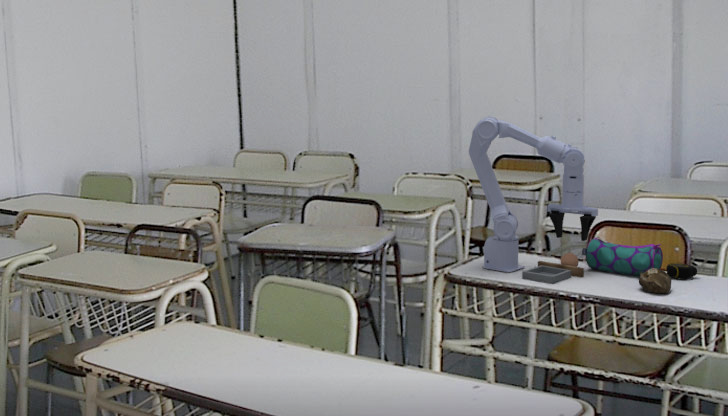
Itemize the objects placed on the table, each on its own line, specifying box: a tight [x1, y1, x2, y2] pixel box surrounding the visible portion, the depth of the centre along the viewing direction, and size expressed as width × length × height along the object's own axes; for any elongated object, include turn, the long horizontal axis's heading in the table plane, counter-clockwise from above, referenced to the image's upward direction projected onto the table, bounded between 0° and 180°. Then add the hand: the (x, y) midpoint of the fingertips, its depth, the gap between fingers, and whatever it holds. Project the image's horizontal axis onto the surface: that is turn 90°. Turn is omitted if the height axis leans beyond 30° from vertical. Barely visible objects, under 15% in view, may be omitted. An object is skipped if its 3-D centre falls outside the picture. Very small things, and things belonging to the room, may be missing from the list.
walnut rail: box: [537, 260, 585, 278], centre depth 235 cm, size 14×1×2 cm, turn 46°
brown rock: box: [638, 268, 672, 294], centre depth 215 cm, size 8×7×10 cm
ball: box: [560, 252, 580, 267], centre depth 239 cm, size 5×5×5 cm
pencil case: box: [581, 236, 664, 277], centre depth 234 cm, size 21×9×10 cm, turn 50°
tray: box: [521, 265, 572, 285], centre depth 231 cm, size 10×10×2 cm
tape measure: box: [665, 262, 698, 280], centre depth 229 cm, size 7×7×4 cm
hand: (571, 238), depth 236 cm, fingers open, 7 cm apart
